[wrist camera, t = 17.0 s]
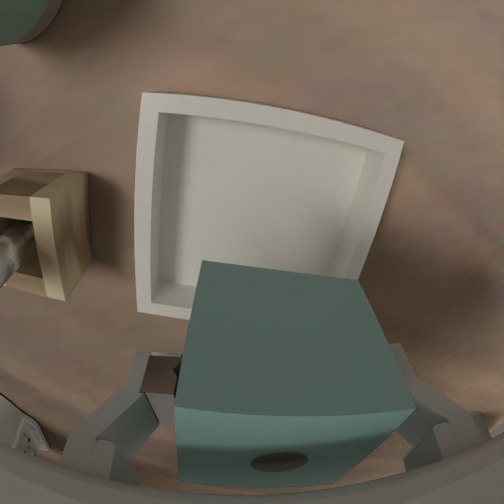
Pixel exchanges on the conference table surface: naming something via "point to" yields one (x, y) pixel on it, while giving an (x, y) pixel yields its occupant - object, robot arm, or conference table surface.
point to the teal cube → (282, 379)
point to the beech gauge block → (49, 228)
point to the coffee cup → (25, 19)
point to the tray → (251, 193)
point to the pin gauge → (15, 248)
